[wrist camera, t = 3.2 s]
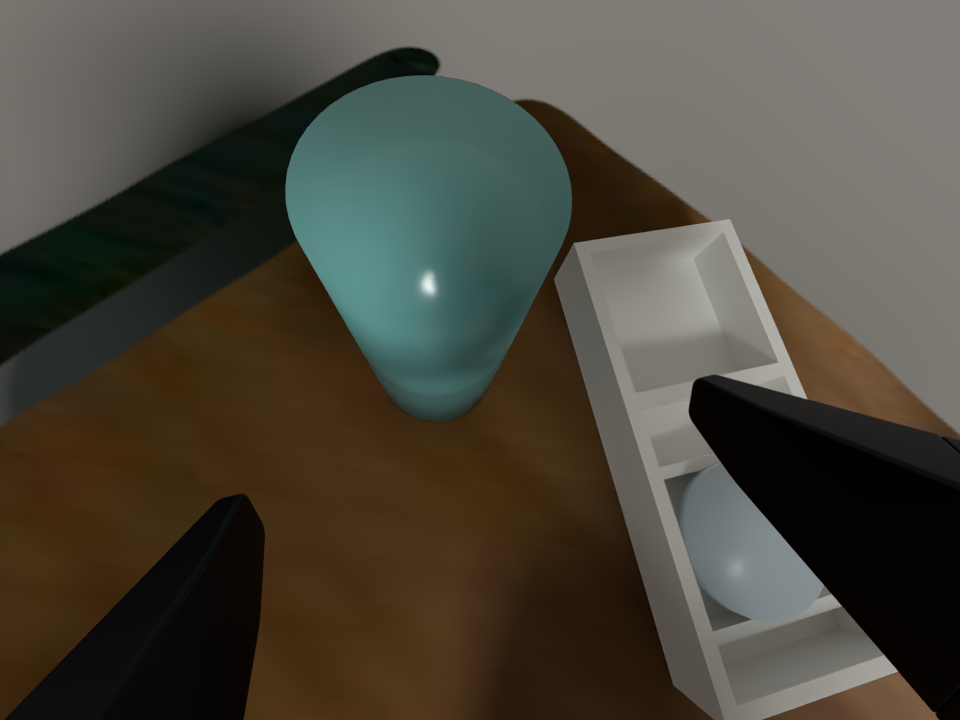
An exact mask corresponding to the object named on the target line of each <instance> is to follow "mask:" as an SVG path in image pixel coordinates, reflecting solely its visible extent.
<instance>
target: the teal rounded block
mask: <svg viewBox="0 0 960 720" xmlns="http://www.w3.org/2000/svg"><path fill="white" fill-rule="evenodd" d="M286 205H287V210H288V215H289V220H290V223H291V225H292V228H293V231H294V234H295V236H296V238H297V240H298V242H299V243H300V245H301V247H302V249H303V251H304V252H305V254H306V256H307V257H308V259H309V261H310V263H311V264H312V266H313V268H314V270H315V271H316V273H317V275H318V276H319V278H320V280H321V282H322V283H323V285H324V287H325V289H326V290H327V292H328V294H329V295H330V297H331V299H332V301H333V302H334V304H335V306H336V308H337V309H338V311H339V313H340V314H341V316H342V318H343V320H344V321H345V323H346V325H347V327H348V328H349V330H350V332H351V333H352V335H353V337H354V339H355V340H356V342H357V344H358V346H359V347H360V349H361V351H362V353H363V354H364V356H365V358H366V359H367V361H368V363H369V365H370V366H371V368H372V370H373V372H374V373H375V375H376V377H377V378H378V380H379V382H380V384H381V385H382V387H383V389H384V391H385V392H386V394H387V396H388V397H389V399H390V400H391V401H392V403H393V404H394V405H395V406H396V407H397V408H399V409H400V410H401V411H403V412H404V413H406V414H408V415H409V416H411V417H414V418H416V419H419V420H423V421H430V422H443V421H449V420H452V419H456V418H458V417H461V416H463V415H464V414H466V413H468V412H469V411H471V410H472V409H473V408H474V407H476V406H477V404H478V403H479V402H480V401H481V400H482V399H483V397H484V396H485V394H486V392H487V390H488V388H489V387H490V385H491V383H492V381H493V379H494V377H495V375H496V373H497V371H498V369H499V367H500V365H501V363H502V361H503V359H504V357H505V355H506V353H507V351H508V350H509V348H510V346H511V344H512V342H513V340H514V338H515V336H516V334H517V332H518V330H519V328H520V326H521V324H522V322H523V320H524V318H525V316H526V314H527V313H528V311H529V309H530V307H531V305H532V303H533V301H534V299H535V297H536V295H537V293H538V291H539V289H540V287H541V285H542V283H543V281H544V279H545V277H546V275H547V274H548V272H549V270H550V268H551V266H552V264H553V262H554V260H555V258H556V256H557V254H558V252H559V250H560V248H561V246H562V244H563V242H564V239H565V236H566V234H567V231H568V228H569V223H570V218H571V211H572V192H571V183H570V179H569V175H568V171H567V167H566V165H565V163H564V160H563V158H562V155H561V153H560V151H559V150H558V148H557V146H556V144H555V143H554V141H553V140H552V138H551V137H550V136H549V134H548V133H547V132H546V130H545V129H544V128H543V127H542V126H541V125H540V124H539V123H538V122H537V120H536V119H535V118H534V117H533V116H531V115H530V114H529V113H528V112H527V111H525V110H524V109H523V108H522V107H520V106H519V105H517V104H516V103H514V102H513V101H511V100H510V99H508V98H507V97H505V96H503V95H501V94H499V93H497V92H495V91H493V90H491V89H488V88H486V87H483V86H480V85H478V84H475V83H471V82H467V81H464V80H460V79H454V78H448V77H442V76H427V75H424V76H405V77H398V78H391V79H387V80H383V81H379V82H375V83H372V84H370V85H367V86H364V87H361V88H359V89H357V90H355V91H353V92H351V93H349V94H347V95H345V96H343V97H342V98H340V99H339V100H337V101H336V102H334V103H333V104H331V105H330V106H329V107H328V108H326V109H325V110H324V111H323V112H322V113H321V114H319V115H318V116H317V118H316V119H315V120H314V121H313V122H312V123H311V124H310V125H309V127H308V128H307V129H306V131H305V132H304V134H303V135H302V137H301V138H300V140H299V141H298V144H297V146H296V148H295V150H294V152H293V154H292V157H291V161H290V164H289V167H288V171H287V179H286Z"/></svg>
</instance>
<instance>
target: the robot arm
mask: <svg viewBox="0 0 960 720" xmlns="http://www.w3.org/2000/svg"><path fill="white" fill-rule="evenodd" d="M688 411H689V416H690V419H691V421H692V423H693V424H694V425H695V427H696V428H697V430H698V431H699V432H700V434H701V435H702V437H703V438H704V440H705V441H706V442H707V444H708V445H709V447H710V448H711V449H712V451H713V452H714V454H715V455H716V457H717V458H718V459H719V461H720V462H721V464H722V465H723V466H724V468H725V469H726V471H727V472H728V473H729V475H730V476H731V477H732V479H733V480H734V481H735V482H736V484H737V485H738V486H739V487H740V488H741V490H742V491H743V492H744V493H745V494H746V495H747V497H748V498H749V499H750V500H751V501H752V502H753V504H754V505H755V506H756V507H757V508H758V509H759V511H760V512H761V513H762V514H763V515H764V516H765V518H766V519H767V520H768V521H769V522H770V523H771V525H772V526H773V527H774V528H775V529H776V530H777V531H778V533H779V534H780V535H781V536H782V537H783V538H784V540H785V541H786V542H787V543H788V544H789V545H790V547H791V548H792V549H793V550H794V551H795V552H796V554H797V555H798V556H799V557H800V558H801V559H802V560H803V562H804V563H805V564H806V565H807V566H808V567H809V569H810V570H811V571H812V572H813V573H814V574H815V576H816V577H817V578H818V579H819V580H820V581H821V583H822V584H823V585H824V586H825V587H826V588H827V590H828V591H829V592H830V593H831V594H832V595H833V596H834V598H835V599H836V600H837V601H838V602H839V603H840V605H841V606H842V607H843V608H844V609H845V610H846V612H847V613H848V614H849V615H850V616H851V617H852V619H853V620H854V621H855V622H856V623H857V624H858V625H859V627H860V628H861V629H862V630H863V631H864V632H865V634H866V635H867V636H868V637H869V638H870V639H871V641H872V642H873V643H874V644H875V645H876V646H877V648H878V649H879V650H880V651H881V652H882V653H883V654H884V656H885V657H886V658H887V659H888V660H889V661H890V663H891V664H892V665H893V666H894V667H895V668H896V670H897V671H898V672H899V673H900V674H901V675H902V677H903V678H904V679H905V680H906V681H907V682H908V684H909V685H910V686H911V687H912V688H913V689H914V690H915V692H916V693H917V694H918V695H919V696H920V697H921V699H922V700H923V701H924V702H925V703H926V704H927V706H928V707H929V708H930V709H931V710H932V711H933V712H936V716H937V718H938V719H939V720H960V441H959V440H956V439H952V438H948V437H944V436H943V437H940V436H938V435H937V434H933V433H930V432H926V431H922V430H919V429H915V428H911V427H908V426H904V425H900V424H896V423H893V422H889V421H885V420H882V419H878V418H874V417H871V416H867V415H863V414H860V413H856V412H852V411H849V410H845V409H841V408H838V407H834V406H830V405H826V404H823V403H819V402H815V401H812V400H808V399H804V398H801V397H797V396H793V395H790V394H786V393H782V392H779V391H775V390H771V389H767V388H764V387H760V386H756V385H753V384H749V383H745V382H742V381H738V380H734V379H731V378H727V377H723V376H720V375H708V376H704V377H700V378H697V379H696V380H695V381H694V383H693V385H692V391H691V397H690V403H689V409H688ZM264 543H265V531H264V526H263V523H262V521H261V519H260V518H259V516H258V514H257V512H256V510H255V509H254V507H253V505H252V503H251V501H250V500H249V498H248V497H247V496H246V495H245V494H237V495H233V496H229V497H225V498H222V499H219V500H218V501H216V502H215V503H214V504H213V505H212V506H211V507H210V508H209V509H208V510H207V511H206V513H205V514H204V515H203V516H202V517H201V518H200V519H199V520H198V521H197V522H196V523H195V524H194V525H193V526H192V527H191V528H190V529H189V530H188V531H187V532H186V533H185V534H184V535H183V536H182V537H181V538H180V539H179V540H178V541H177V542H176V543H175V544H174V546H173V547H172V548H171V549H170V550H169V551H168V552H167V553H166V554H165V555H164V556H163V557H162V558H161V559H160V560H159V561H158V562H157V563H156V564H155V565H154V566H153V567H152V568H151V569H150V570H149V571H148V572H147V573H146V574H145V575H144V576H143V577H142V579H141V580H140V581H139V582H138V583H137V584H136V585H135V586H134V587H133V588H132V589H131V590H130V591H129V592H128V593H127V594H126V595H125V596H124V597H123V598H122V599H121V600H120V601H119V602H118V603H117V604H116V605H115V606H114V607H113V608H112V609H111V610H110V612H109V613H108V614H107V615H106V616H105V617H104V618H103V619H102V620H101V621H100V622H99V623H98V624H97V625H96V626H95V627H94V628H93V629H92V630H91V631H90V632H89V633H88V634H87V635H86V636H85V637H84V638H83V639H82V640H81V641H80V642H79V643H78V645H77V646H76V647H75V648H74V649H73V650H72V651H71V652H70V653H69V654H68V655H67V656H66V657H65V658H64V659H63V660H62V661H61V662H60V663H59V664H58V665H57V666H56V667H55V668H54V669H53V670H52V671H51V672H50V673H49V674H48V675H47V676H46V677H45V678H44V680H43V681H42V682H41V683H40V684H39V685H38V686H37V687H36V688H35V689H34V690H33V691H32V692H31V693H30V694H29V695H28V696H27V697H26V698H25V699H24V700H23V701H22V702H21V703H20V704H19V705H18V706H17V707H16V708H15V709H14V710H13V711H12V712H11V714H10V715H9V716H8V717H7V718H6V719H5V720H244V714H245V708H246V702H247V697H248V691H249V685H250V679H251V673H252V667H253V661H254V655H255V649H256V643H257V637H258V630H259V623H260V613H261V598H262V579H263V561H264Z"/></svg>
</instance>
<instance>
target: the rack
mask: <svg viewBox="0 0 960 720" xmlns="http://www.w3.org/2000/svg"><path fill="white" fill-rule="evenodd" d="M554 281H555V284H556V288H557V291H558V294H559V298H560V301H561V305H562V308H563V311H564V315H565V318H566V322H567V325H568V328H569V332H570V335H571V339H572V342H573V345H574V349H575V352H576V356H577V359H578V362H579V366H580V369H581V373H582V376H583V379H584V383H585V386H586V390H587V393H588V396H589V400H590V403H591V407H592V410H593V413H594V417H595V420H596V424H597V427H598V430H599V434H600V437H601V441H602V444H603V447H604V451H605V454H606V458H607V461H608V464H609V468H610V471H611V475H612V478H613V481H614V485H615V488H616V492H617V495H618V498H619V502H620V505H621V509H622V512H623V516H624V519H625V522H626V526H627V529H628V533H629V536H630V539H631V543H632V546H633V550H634V553H635V556H636V560H637V563H638V567H639V570H640V573H641V577H642V580H643V584H644V587H645V590H646V594H647V597H648V601H649V604H650V607H651V611H652V614H653V618H654V621H655V624H656V628H657V631H658V635H659V638H660V641H661V645H662V648H663V652H664V655H665V658H666V662H667V665H668V669H669V672H670V675H671V679H672V682H673V685H674V686H675V687H676V688H677V689H678V690H680V691H681V692H682V693H683V694H684V695H685V696H687V697H688V698H689V699H690V700H691V701H693V702H694V703H695V704H696V705H697V706H698V707H700V708H701V709H702V710H703V711H704V712H705V713H707V714H708V715H709V716H710V717H711V718H712V719H714V720H763V719H766V718H769V717H771V716H774V715H777V714H780V713H783V712H785V711H788V710H791V709H794V708H797V707H800V706H802V705H805V704H808V703H811V702H814V701H816V700H819V699H822V698H825V697H828V696H831V695H833V694H836V693H839V692H842V691H845V690H847V689H850V688H853V687H856V686H859V685H862V684H864V683H867V682H870V681H873V680H876V679H878V678H881V677H884V676H887V675H890V674H893V673H895V672H898V671H897V670H896V668H895V667H894V666H893V665H892V664H891V663H890V661H889V660H888V659H887V658H886V657H885V656H884V654H883V653H882V652H881V651H880V650H879V649H878V648H877V646H876V645H875V644H874V643H873V642H872V641H871V639H870V638H869V637H868V636H867V635H866V634H865V632H864V631H863V630H862V629H861V628H860V627H859V625H858V624H857V623H856V622H855V621H854V620H853V619H852V617H851V616H850V615H849V614H848V613H847V612H846V610H845V609H844V608H843V607H842V606H841V605H840V603H839V602H838V601H837V600H836V599H835V598H834V596H833V595H832V594H831V593H830V592H829V591H828V590H827V588H826V587H825V586H824V585H823V584H822V583H821V581H820V580H819V579H818V578H817V577H816V576H815V574H814V573H813V572H812V571H811V570H810V569H809V567H808V566H807V565H806V564H805V563H804V562H803V560H802V559H801V558H800V557H799V556H798V555H797V554H796V552H795V551H794V550H793V549H792V548H791V547H790V545H789V544H788V543H787V542H786V541H785V540H784V538H783V537H782V536H781V535H780V534H779V533H778V531H777V530H776V529H775V528H774V527H773V526H772V525H771V523H770V522H769V521H768V520H767V519H766V518H765V516H764V515H763V514H762V513H761V512H760V511H759V509H758V508H757V507H756V506H755V505H754V504H753V502H752V501H751V500H750V499H749V498H748V497H747V495H746V494H745V493H744V492H743V491H742V490H741V488H740V487H739V486H738V485H737V484H736V482H735V481H734V480H733V479H732V477H731V476H730V475H729V473H728V472H727V471H726V469H725V468H724V466H723V465H722V464H721V462H720V461H719V459H718V458H717V457H716V455H715V454H714V452H713V451H712V449H711V448H710V447H709V445H708V444H707V442H706V441H705V440H704V438H703V437H702V435H701V434H700V432H699V431H698V430H697V428H696V427H695V425H694V424H693V423H692V421H691V419H690V416H689V411H688V409H689V403H690V397H691V391H692V385H693V383H694V381H695V380H696V379H697V378H700V377H704V376H708V375H720V376H723V377H727V378H731V379H734V380H738V381H742V382H745V383H749V384H753V385H756V386H760V387H764V388H767V389H771V390H775V391H779V392H782V393H786V394H790V395H793V396H797V397H801V398H804V399H807V397H806V395H805V392H804V390H803V388H802V385H801V383H800V381H799V378H798V376H797V374H796V371H795V369H794V367H793V365H792V362H791V360H790V358H789V355H788V353H787V351H786V348H785V346H784V344H783V341H782V339H781V337H780V334H779V332H778V330H777V327H776V325H775V323H774V320H773V318H772V316H771V313H770V311H769V309H768V306H767V304H766V302H765V300H764V297H763V295H762V293H761V290H760V288H759V286H758V283H757V281H756V279H755V276H754V274H753V272H752V269H751V267H750V265H749V262H748V260H747V258H746V255H745V253H744V251H743V248H742V246H741V244H740V241H739V239H738V237H737V235H736V232H735V230H734V228H733V225H732V223H731V221H730V219H728V220H722V221H715V222H708V223H702V224H695V225H689V226H682V227H676V228H669V229H662V230H656V231H649V232H643V233H636V234H630V235H623V236H617V237H610V238H603V239H597V240H590V241H584V242H577V243H574V244H573V246H572V247H571V249H570V251H569V253H568V255H567V256H566V258H565V260H564V262H563V264H562V265H561V267H560V269H559V271H558V272H557V274H556V276H555V278H554Z"/></svg>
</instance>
